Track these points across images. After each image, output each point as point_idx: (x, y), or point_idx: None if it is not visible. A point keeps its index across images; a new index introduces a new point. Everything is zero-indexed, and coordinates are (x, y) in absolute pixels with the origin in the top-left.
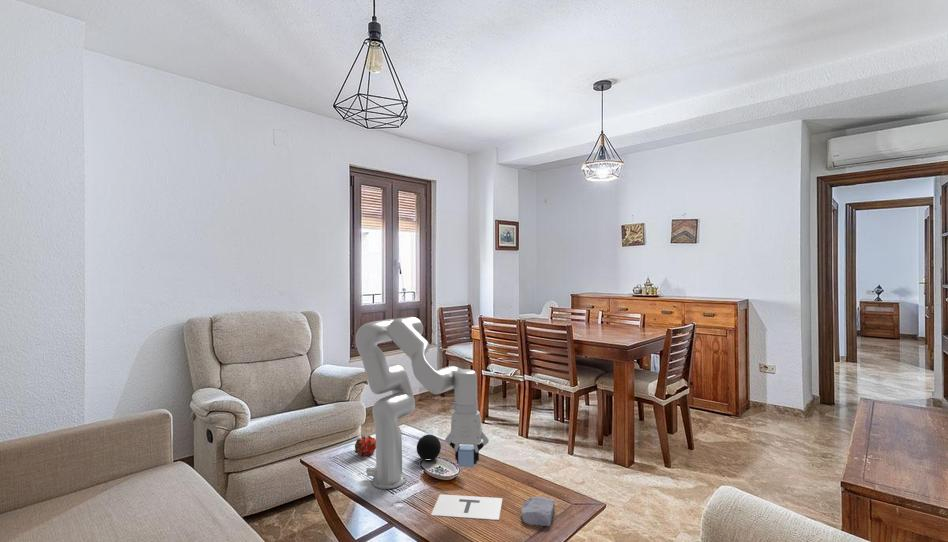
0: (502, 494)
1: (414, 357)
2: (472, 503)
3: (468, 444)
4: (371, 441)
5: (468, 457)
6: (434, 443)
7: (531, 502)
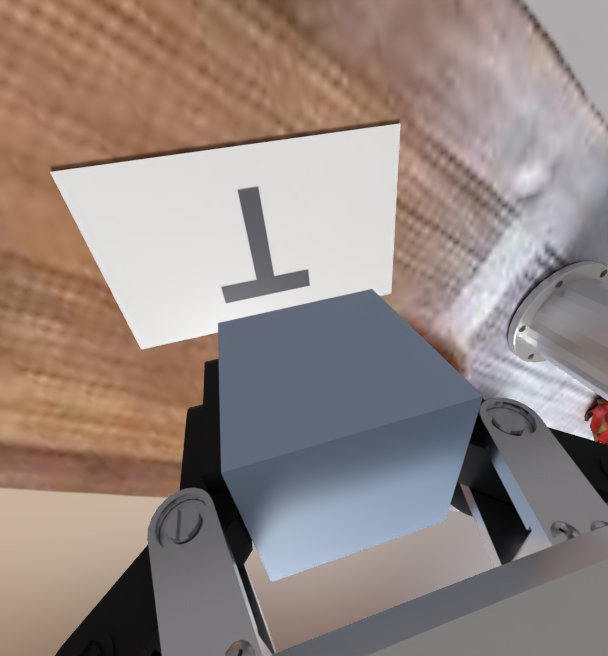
0: (158, 373)
1: None
2: (247, 273)
3: (363, 624)
4: None
5: (290, 375)
6: None
7: None
